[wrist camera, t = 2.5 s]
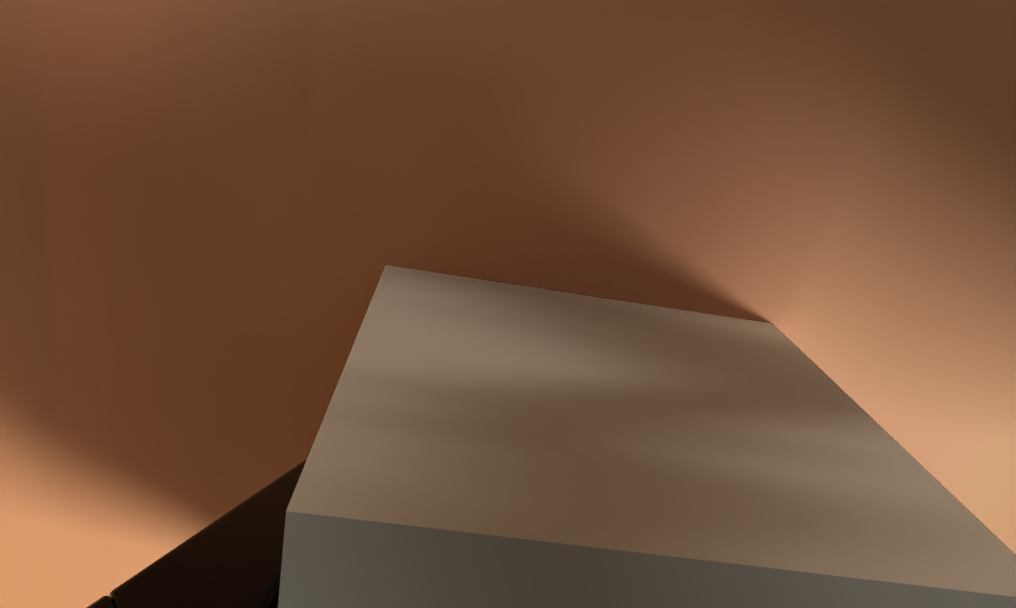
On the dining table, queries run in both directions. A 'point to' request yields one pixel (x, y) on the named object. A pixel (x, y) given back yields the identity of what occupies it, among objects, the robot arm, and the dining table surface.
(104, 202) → the dining table surface
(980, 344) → the dining table surface
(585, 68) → the dining table surface
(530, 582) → the cream block
